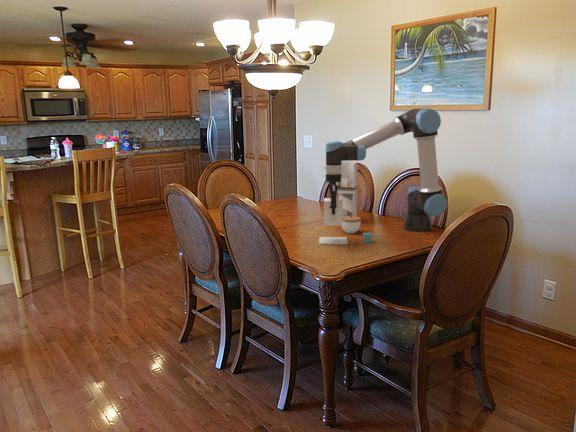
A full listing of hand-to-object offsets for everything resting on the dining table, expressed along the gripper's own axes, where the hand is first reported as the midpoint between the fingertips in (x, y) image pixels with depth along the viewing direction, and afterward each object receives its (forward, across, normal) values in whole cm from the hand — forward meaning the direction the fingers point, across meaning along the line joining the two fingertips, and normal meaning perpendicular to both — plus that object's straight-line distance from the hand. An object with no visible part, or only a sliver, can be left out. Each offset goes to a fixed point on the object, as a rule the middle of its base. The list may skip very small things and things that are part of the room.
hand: (333, 218), depth 233 cm
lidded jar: (+12, -19, +10) cm, 25 cm away
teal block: (+12, 0, +17) cm, 21 cm away
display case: (+12, -44, +9) cm, 47 cm away
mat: (+12, 0, 0) cm, 12 cm away
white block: (+2, 0, 0) cm, 2 cm away
